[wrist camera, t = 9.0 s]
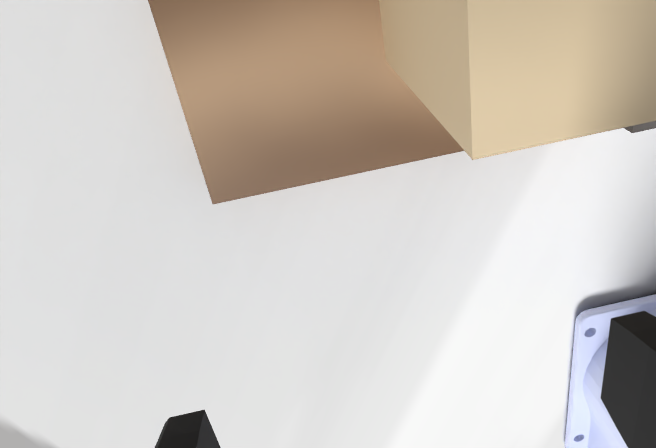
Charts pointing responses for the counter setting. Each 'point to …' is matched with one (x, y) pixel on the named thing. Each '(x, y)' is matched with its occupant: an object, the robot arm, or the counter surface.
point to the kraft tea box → (525, 67)
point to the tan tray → (292, 93)
